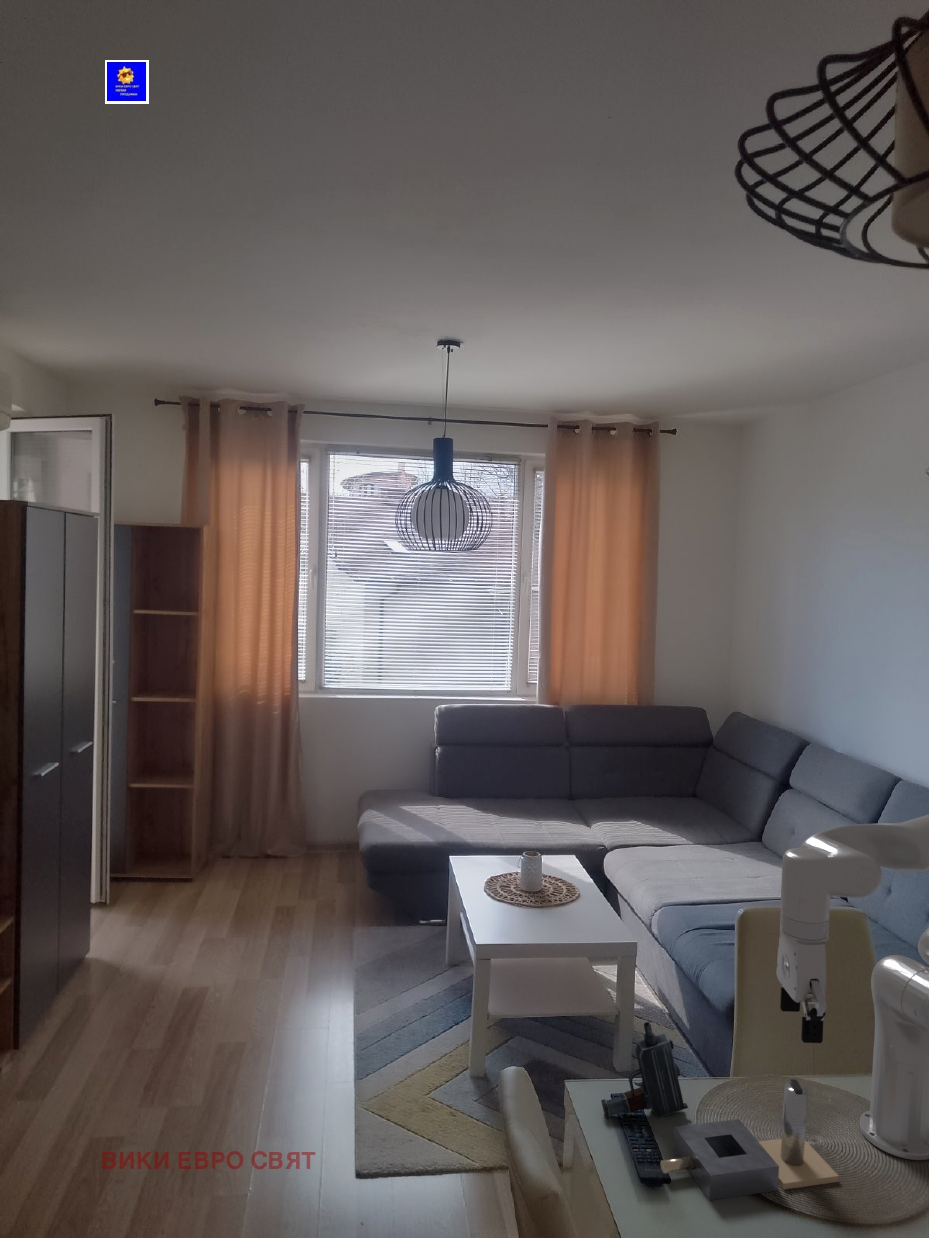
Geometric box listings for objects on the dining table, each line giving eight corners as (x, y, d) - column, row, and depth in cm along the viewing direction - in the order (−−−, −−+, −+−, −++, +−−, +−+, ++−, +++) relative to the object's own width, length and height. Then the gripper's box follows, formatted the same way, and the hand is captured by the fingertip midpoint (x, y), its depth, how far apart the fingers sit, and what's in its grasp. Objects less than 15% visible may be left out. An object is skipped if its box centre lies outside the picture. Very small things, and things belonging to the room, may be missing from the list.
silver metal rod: (777, 1150, 144) (781, 1077, 144) (799, 1151, 144) (803, 1078, 144) (784, 1165, 141) (789, 1090, 140) (806, 1166, 141) (811, 1091, 140)
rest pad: (801, 1141, 149) (801, 1135, 149) (838, 1181, 139) (838, 1175, 139) (749, 1148, 146) (749, 1142, 146) (783, 1189, 137) (783, 1183, 137)
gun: (586, 1038, 154) (664, 1013, 156) (606, 1123, 155) (683, 1098, 157) (590, 1046, 151) (669, 1021, 153) (610, 1133, 153) (688, 1107, 155)
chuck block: (737, 1141, 148) (738, 1118, 148) (777, 1190, 136) (779, 1165, 136) (646, 1152, 144) (647, 1129, 144) (679, 1204, 133) (680, 1179, 132)
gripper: (764, 904, 150) (760, 999, 151) (800, 947, 133) (796, 1054, 134) (807, 905, 150) (803, 1000, 151) (849, 948, 133) (845, 1055, 134)
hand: (800, 1025), depth 142 cm, fingers open, 9 cm apart
